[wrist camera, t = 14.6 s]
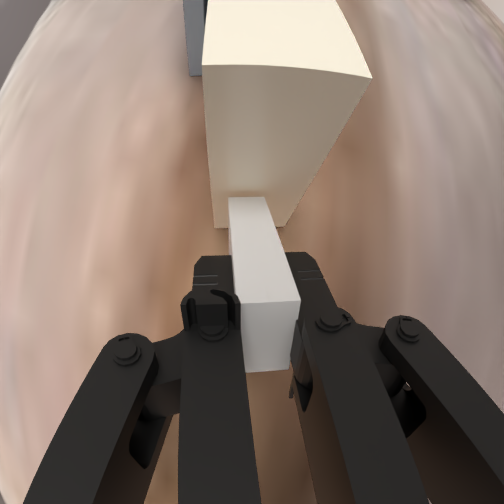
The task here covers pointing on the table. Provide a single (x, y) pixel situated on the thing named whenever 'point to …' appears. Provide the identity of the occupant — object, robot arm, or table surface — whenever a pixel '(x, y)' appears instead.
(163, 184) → the table surface
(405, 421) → the robot arm
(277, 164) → the tile
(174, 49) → the table surface
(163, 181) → the table surface
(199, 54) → the housing
